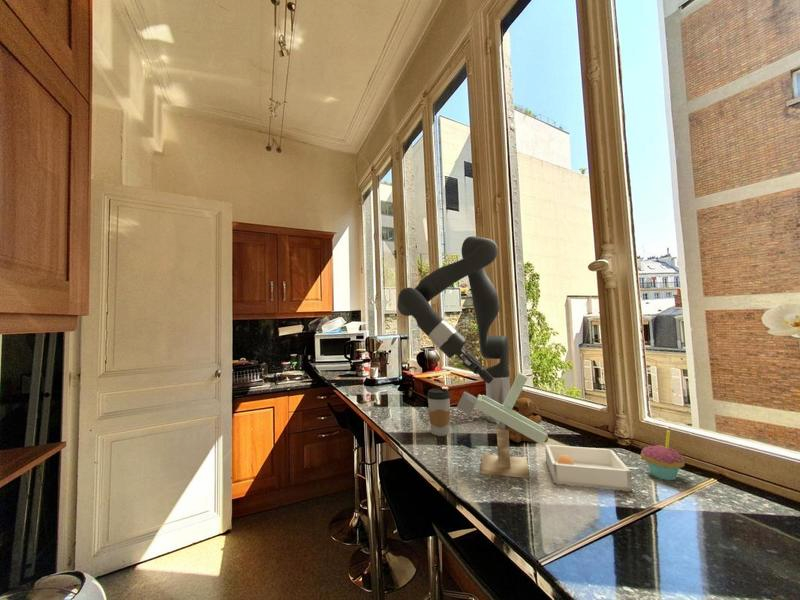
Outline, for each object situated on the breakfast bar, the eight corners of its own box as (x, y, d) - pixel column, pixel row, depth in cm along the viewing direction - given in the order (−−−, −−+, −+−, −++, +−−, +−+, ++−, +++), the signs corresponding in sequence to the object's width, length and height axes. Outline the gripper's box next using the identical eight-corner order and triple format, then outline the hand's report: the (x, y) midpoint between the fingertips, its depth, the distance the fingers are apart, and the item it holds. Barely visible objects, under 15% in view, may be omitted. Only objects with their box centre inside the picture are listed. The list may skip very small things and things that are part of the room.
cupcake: (676, 470, 84) (672, 422, 84) (693, 486, 76) (689, 433, 76) (637, 466, 87) (633, 420, 87) (649, 481, 78) (645, 430, 79)
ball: (556, 461, 87) (566, 452, 87) (567, 473, 85) (577, 464, 84) (553, 460, 85) (563, 451, 84) (564, 473, 82) (575, 464, 81)
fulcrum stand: (480, 473, 85) (478, 430, 86) (482, 457, 95) (480, 419, 96) (529, 478, 82) (527, 433, 83) (526, 461, 92) (524, 421, 92)
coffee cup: (451, 429, 120) (449, 388, 121) (452, 437, 112) (450, 393, 113) (428, 429, 121) (427, 388, 122) (428, 437, 113) (426, 393, 114)
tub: (553, 483, 79) (552, 464, 79) (546, 460, 91) (545, 444, 92) (632, 491, 74) (630, 471, 75) (612, 466, 87) (611, 449, 87)
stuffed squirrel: (550, 441, 106) (548, 400, 107) (514, 447, 101) (512, 404, 102) (529, 431, 115) (527, 393, 116) (495, 437, 111) (493, 398, 112)
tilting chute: (456, 408, 89) (480, 357, 88) (459, 399, 98) (482, 353, 97) (538, 455, 83) (566, 401, 81) (534, 441, 92) (559, 392, 91)
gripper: (442, 346, 105) (482, 386, 101) (434, 349, 92) (481, 395, 88) (458, 329, 104) (499, 369, 100) (453, 330, 91) (500, 375, 87)
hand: (490, 381), depth 94 cm, fingers closed
